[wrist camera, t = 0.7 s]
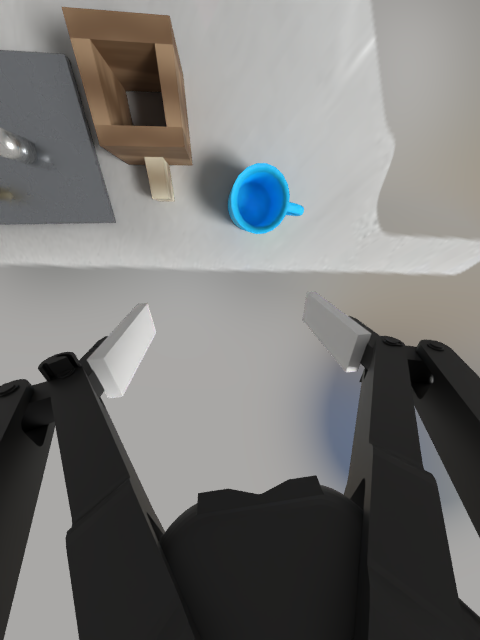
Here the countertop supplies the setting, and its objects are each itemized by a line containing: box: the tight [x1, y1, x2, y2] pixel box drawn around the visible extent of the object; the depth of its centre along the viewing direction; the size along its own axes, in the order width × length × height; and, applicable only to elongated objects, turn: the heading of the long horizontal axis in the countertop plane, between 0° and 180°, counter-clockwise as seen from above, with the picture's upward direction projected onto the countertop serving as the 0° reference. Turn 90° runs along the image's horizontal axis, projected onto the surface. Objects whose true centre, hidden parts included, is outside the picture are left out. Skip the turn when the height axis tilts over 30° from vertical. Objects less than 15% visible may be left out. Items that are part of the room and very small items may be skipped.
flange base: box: [0, 50, 116, 224], centre depth 25 cm, size 18×18×4 cm
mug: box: [228, 163, 304, 234], centre depth 29 cm, size 12×8×8 cm
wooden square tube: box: [62, 7, 192, 201], centre depth 24 cm, size 14×10×8 cm
